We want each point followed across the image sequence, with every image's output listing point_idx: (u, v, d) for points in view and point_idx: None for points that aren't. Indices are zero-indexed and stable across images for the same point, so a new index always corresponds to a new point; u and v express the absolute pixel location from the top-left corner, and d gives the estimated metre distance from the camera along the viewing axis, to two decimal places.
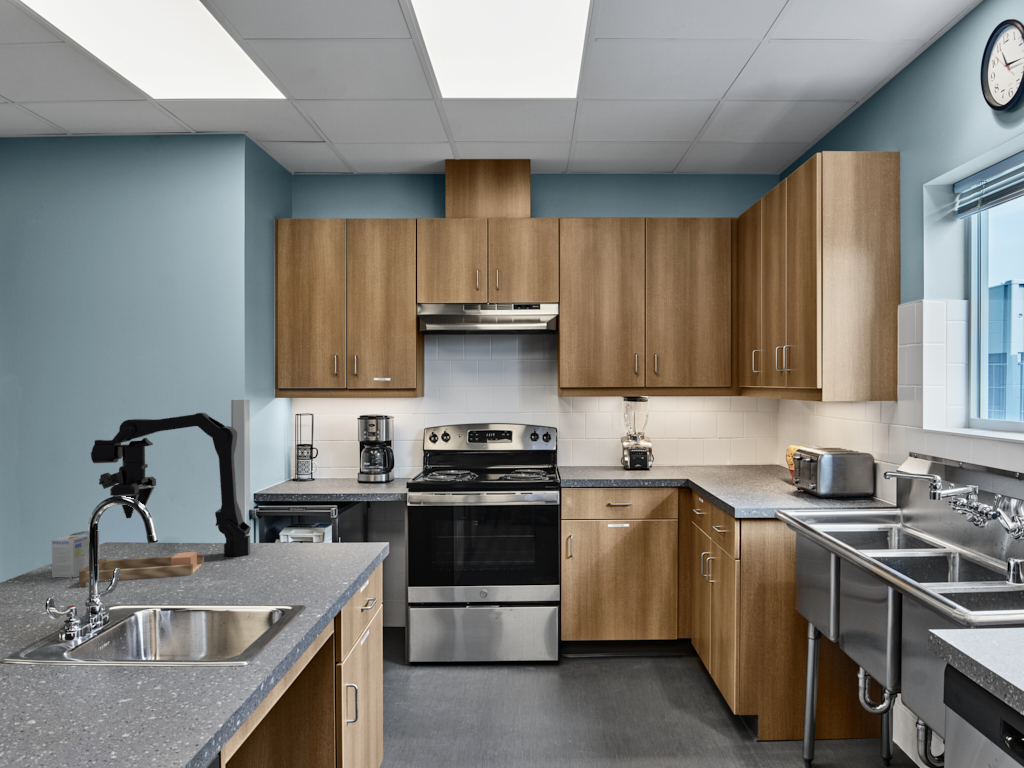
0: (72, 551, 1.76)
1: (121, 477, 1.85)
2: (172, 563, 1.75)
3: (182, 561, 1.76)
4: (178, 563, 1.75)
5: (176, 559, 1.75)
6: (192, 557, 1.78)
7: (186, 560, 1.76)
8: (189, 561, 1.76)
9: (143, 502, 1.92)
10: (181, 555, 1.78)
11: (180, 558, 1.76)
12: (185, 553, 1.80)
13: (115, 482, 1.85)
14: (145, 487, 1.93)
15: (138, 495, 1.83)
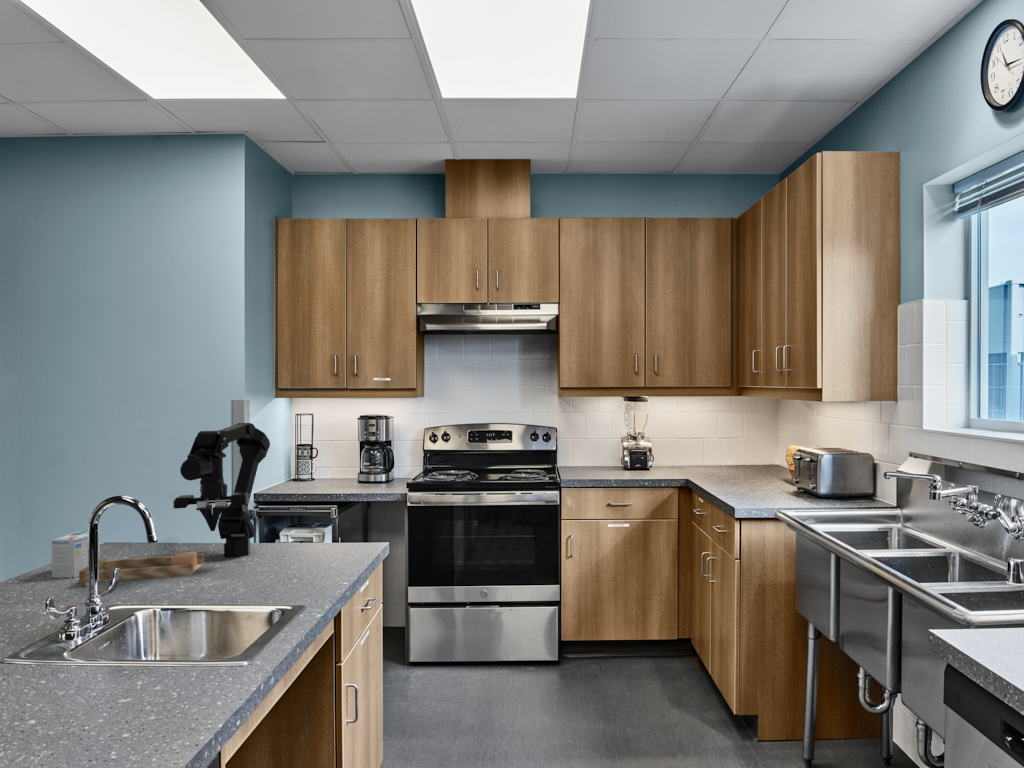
0: (72, 551, 1.76)
1: None
2: (172, 563, 1.75)
3: (182, 561, 1.76)
4: (178, 563, 1.75)
5: (176, 559, 1.75)
6: (192, 557, 1.78)
7: (186, 560, 1.76)
8: (189, 561, 1.76)
9: None
10: (181, 555, 1.78)
11: (180, 558, 1.76)
12: (185, 553, 1.80)
13: None
14: (215, 505, 1.79)
15: (206, 509, 1.77)
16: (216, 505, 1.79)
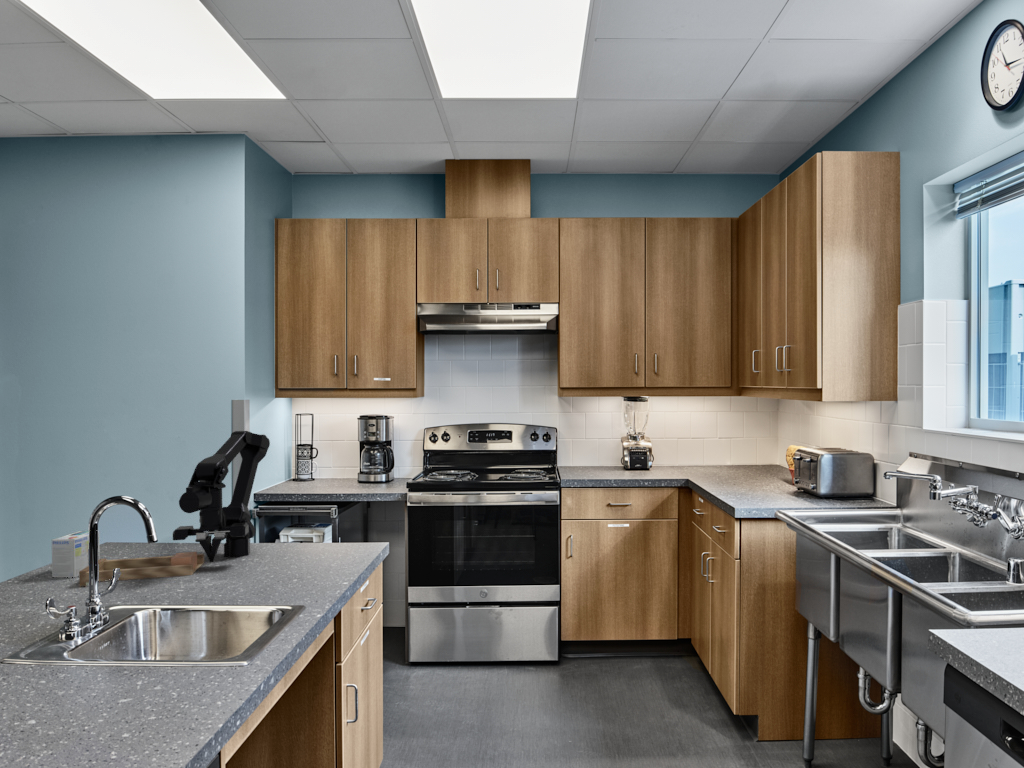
0: (72, 551, 1.76)
1: None
2: (172, 563, 1.75)
3: (182, 561, 1.76)
4: (178, 563, 1.75)
5: (176, 559, 1.75)
6: (192, 557, 1.78)
7: (186, 560, 1.76)
8: (189, 561, 1.76)
9: None
10: (181, 555, 1.78)
11: (180, 558, 1.76)
12: (185, 553, 1.80)
13: None
14: None
15: (205, 541, 1.77)
16: (215, 536, 1.79)
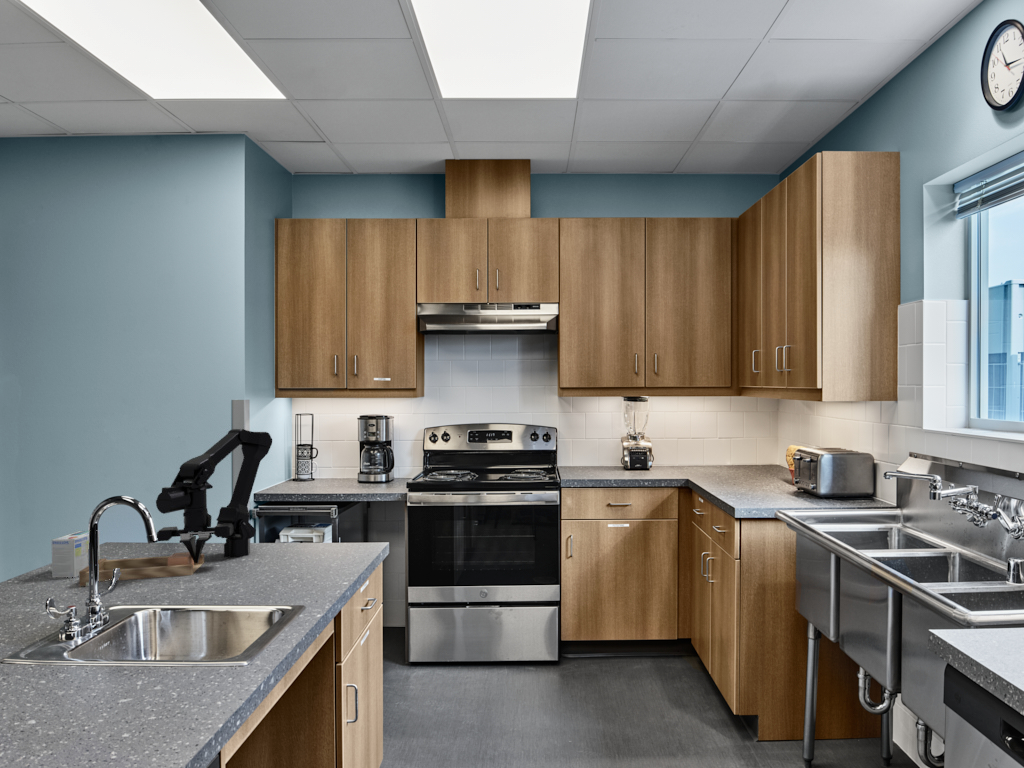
0: (72, 551, 1.76)
1: None
2: (169, 563, 1.75)
3: (179, 561, 1.75)
4: (175, 563, 1.75)
5: (173, 559, 1.75)
6: (189, 557, 1.77)
7: (183, 560, 1.76)
8: (186, 561, 1.76)
9: None
10: (178, 555, 1.78)
11: (177, 558, 1.75)
12: (182, 553, 1.80)
13: None
14: None
15: (189, 542, 1.76)
16: (200, 537, 1.78)
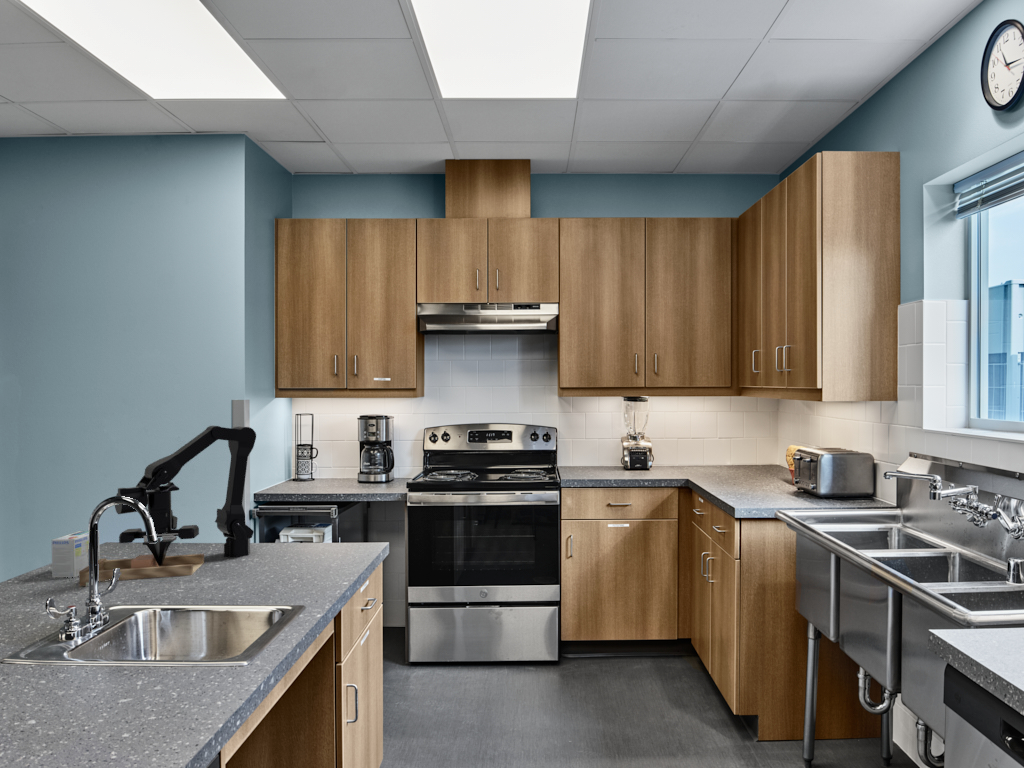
0: (72, 551, 1.76)
1: None
2: (132, 566, 1.73)
3: (142, 564, 1.74)
4: (138, 566, 1.73)
5: (136, 562, 1.73)
6: (153, 560, 1.76)
7: (147, 563, 1.74)
8: (150, 564, 1.74)
9: None
10: (142, 557, 1.76)
11: (140, 561, 1.74)
12: (146, 555, 1.78)
13: None
14: None
15: (152, 544, 1.74)
16: (163, 539, 1.76)
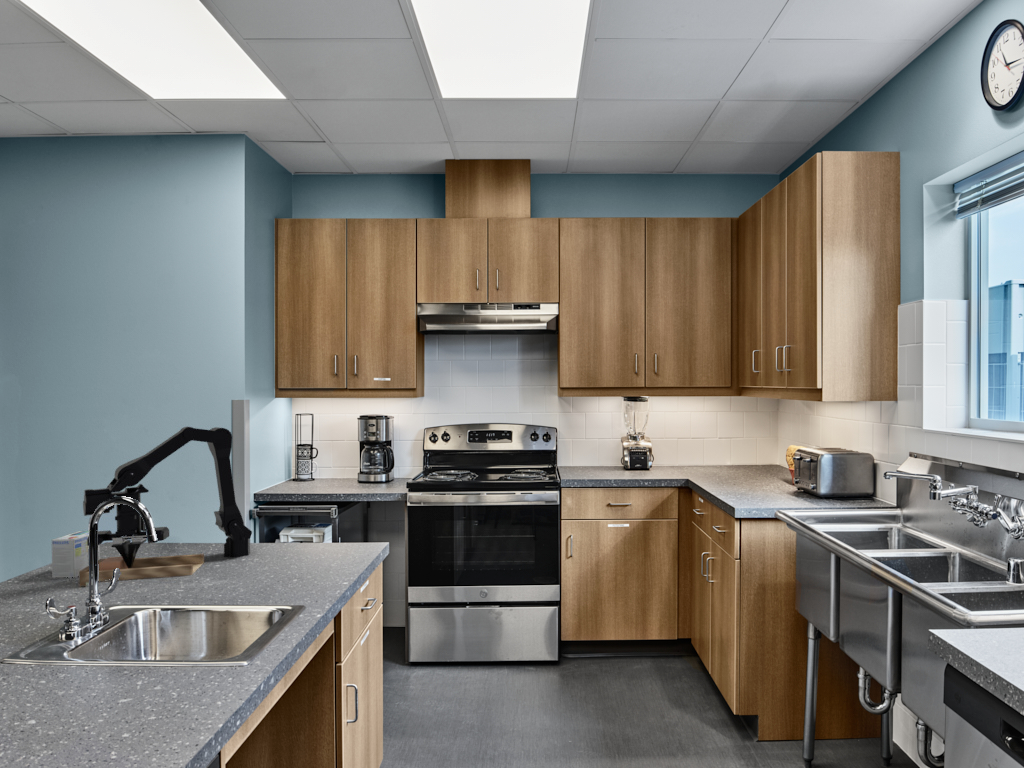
0: (72, 551, 1.76)
1: None
2: (100, 568, 1.72)
3: (111, 566, 1.72)
4: (106, 568, 1.72)
5: (104, 564, 1.72)
6: (122, 562, 1.74)
7: (115, 565, 1.72)
8: (118, 566, 1.72)
9: None
10: (111, 560, 1.74)
11: (109, 563, 1.72)
12: (115, 558, 1.77)
13: None
14: None
15: (121, 546, 1.73)
16: (133, 541, 1.74)
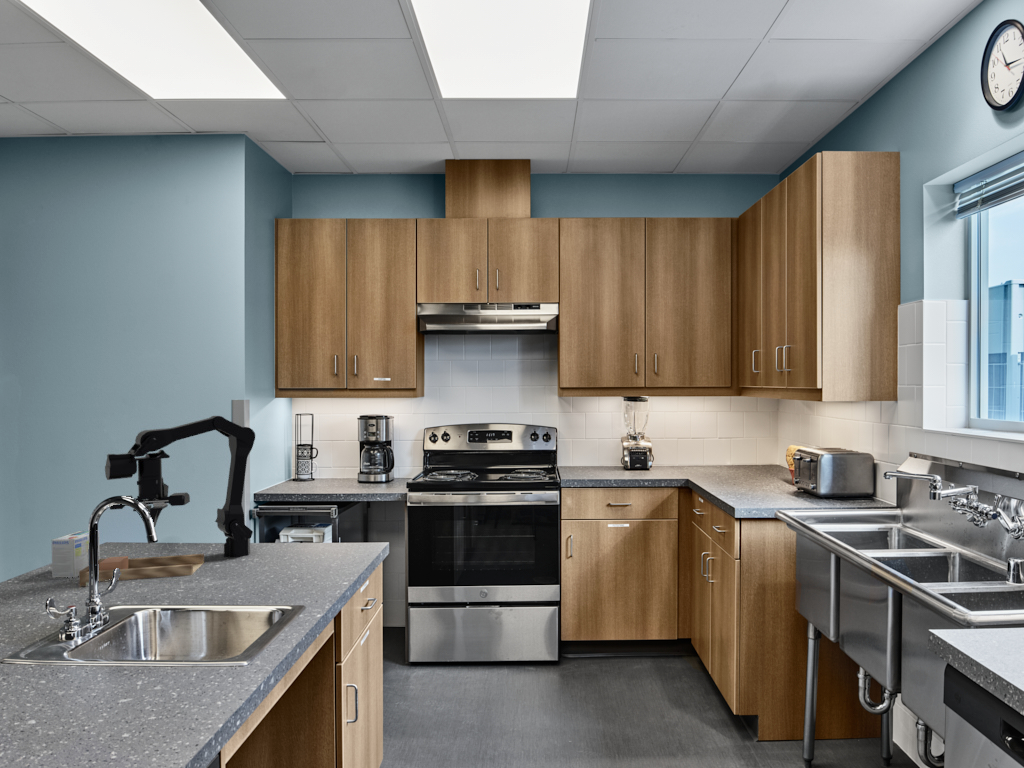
0: (72, 551, 1.76)
1: None
2: (100, 568, 1.72)
3: (111, 566, 1.72)
4: (106, 568, 1.72)
5: (104, 564, 1.72)
6: (122, 562, 1.74)
7: (115, 565, 1.72)
8: (118, 566, 1.72)
9: None
10: (111, 560, 1.74)
11: (109, 563, 1.72)
12: (115, 558, 1.77)
13: None
14: None
15: None
16: (154, 506, 1.76)
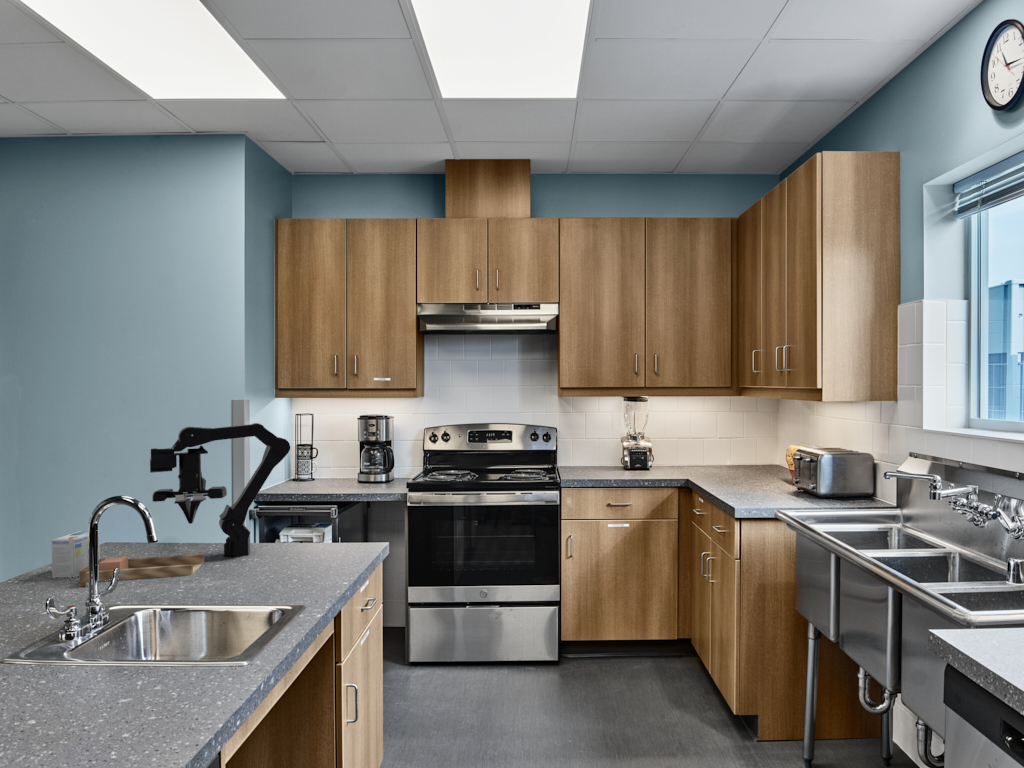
0: (72, 551, 1.76)
1: None
2: (100, 568, 1.72)
3: (111, 566, 1.72)
4: (106, 568, 1.72)
5: (104, 564, 1.72)
6: (122, 562, 1.74)
7: (115, 565, 1.72)
8: (118, 566, 1.72)
9: None
10: (111, 560, 1.74)
11: (109, 563, 1.72)
12: (115, 558, 1.77)
13: None
14: (193, 498, 1.86)
15: (184, 503, 1.84)
16: (194, 498, 1.86)
